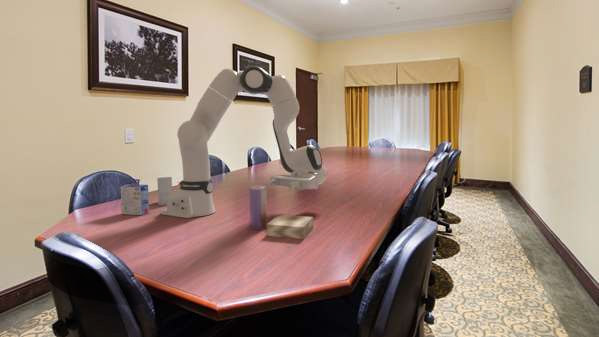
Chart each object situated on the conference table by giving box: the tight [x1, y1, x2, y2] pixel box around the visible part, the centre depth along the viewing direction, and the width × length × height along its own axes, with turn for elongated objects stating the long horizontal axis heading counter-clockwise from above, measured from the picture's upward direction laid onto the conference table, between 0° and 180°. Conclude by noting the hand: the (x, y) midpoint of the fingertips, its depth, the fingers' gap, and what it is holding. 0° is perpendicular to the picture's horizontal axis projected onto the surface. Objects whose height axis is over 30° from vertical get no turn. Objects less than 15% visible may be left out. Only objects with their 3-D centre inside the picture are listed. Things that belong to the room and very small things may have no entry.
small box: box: [156, 174, 173, 206], centre depth 172 cm, size 8×6×13 cm
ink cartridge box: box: [120, 178, 150, 216], centre depth 153 cm, size 10×6×14 cm, turn 79°
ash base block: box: [266, 214, 314, 240], centre depth 127 cm, size 13×13×4 cm
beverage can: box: [249, 185, 268, 230], centre depth 132 cm, size 6×6×15 cm
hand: (280, 184), depth 141 cm, fingers open, 8 cm apart
